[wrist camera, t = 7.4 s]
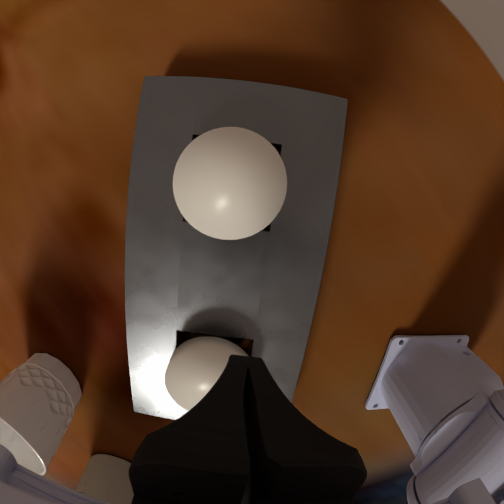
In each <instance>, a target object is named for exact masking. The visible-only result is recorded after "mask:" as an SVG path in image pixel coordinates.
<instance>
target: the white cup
mask: <svg viewBox="0 0 504 504" xmlns="http://www.w3.org/2000/svg"><path fill="white" fill-rule="evenodd" d="M81 396H82V392H81V389H80V385H79V382H78V380H77V379H76V377H75V376H74V375H73V373H72V372H71V370H70V369H69V368H68V367H67V366H65V365H64V364H63V363H62V362H61V361H60V360H59V359H57V358H55V357H53V356H51V355H49V354H47V353H35V354H34V355H32V356H31V357H30V358H29V359H28V360H27V361H26V362H24V363H23V364H22V365H20V366H18V367H16V368H15V369H14V370H13V371H12V372H10V373H9V374H8V375H7V376H6V377H5V378H4V379H2V380H1V381H0V444H1V445H3V446H4V447H6V448H7V449H8V450H9V451H10V452H11V453H12V454H13V455H14V457H15V459H16V461H17V463H18V464H20V465H21V466H23V467H25V468H27V469H29V470H31V471H33V472H35V473H37V474H39V475H44V474H45V473H46V471H47V469H48V467H49V465H50V463H51V460H52V458H53V456H54V454H55V452H56V450H57V448H58V446H59V444H60V443H61V441H62V439H63V436H64V434H65V432H66V430H67V428H68V426H69V424H70V422H71V420H72V418H73V414H74V412H75V410H76V408H77V407H78V405H79V403H80V400H81Z"/></svg>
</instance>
